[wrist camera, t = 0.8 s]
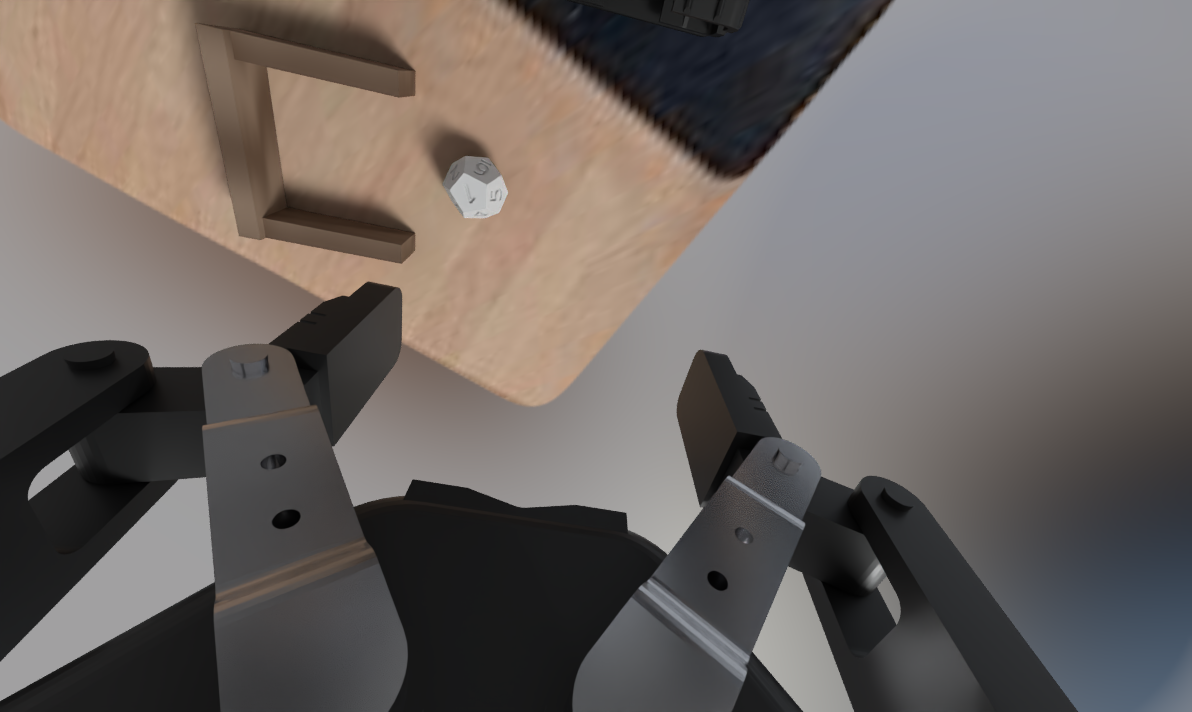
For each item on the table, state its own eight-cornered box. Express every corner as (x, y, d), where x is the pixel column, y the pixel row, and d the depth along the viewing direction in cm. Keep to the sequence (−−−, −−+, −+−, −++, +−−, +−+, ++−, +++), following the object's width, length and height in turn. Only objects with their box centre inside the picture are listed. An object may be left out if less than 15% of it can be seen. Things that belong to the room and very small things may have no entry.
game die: (501, 146, 27) (491, 154, 25) (515, 209, 29) (508, 222, 26) (444, 155, 27) (429, 163, 25) (462, 217, 29) (449, 230, 27)
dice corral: (237, 28, 24) (195, 23, 21) (415, 70, 25) (394, 70, 22) (270, 222, 29) (239, 235, 27) (415, 250, 30) (398, 266, 28)
